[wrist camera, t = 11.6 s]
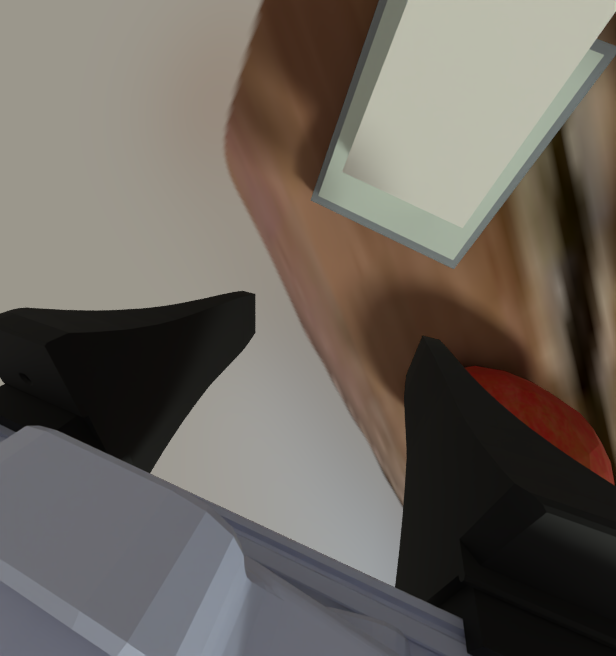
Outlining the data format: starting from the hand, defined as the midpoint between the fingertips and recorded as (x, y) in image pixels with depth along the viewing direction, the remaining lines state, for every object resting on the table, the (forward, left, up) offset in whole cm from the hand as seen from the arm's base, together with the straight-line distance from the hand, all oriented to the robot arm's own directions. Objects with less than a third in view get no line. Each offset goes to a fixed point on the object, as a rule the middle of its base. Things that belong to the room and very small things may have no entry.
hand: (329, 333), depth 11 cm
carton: (0, -8, -8) cm, 11 cm away
